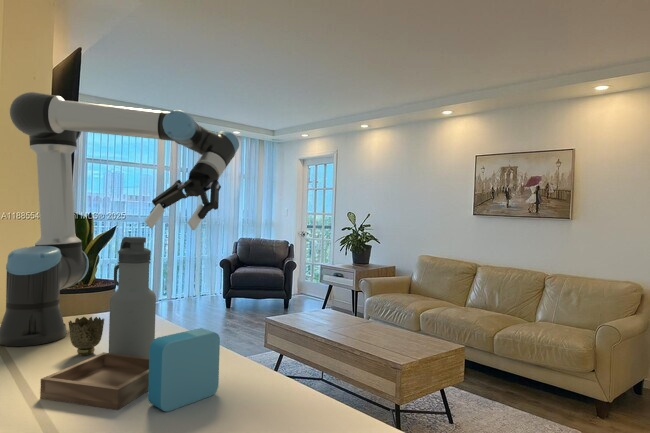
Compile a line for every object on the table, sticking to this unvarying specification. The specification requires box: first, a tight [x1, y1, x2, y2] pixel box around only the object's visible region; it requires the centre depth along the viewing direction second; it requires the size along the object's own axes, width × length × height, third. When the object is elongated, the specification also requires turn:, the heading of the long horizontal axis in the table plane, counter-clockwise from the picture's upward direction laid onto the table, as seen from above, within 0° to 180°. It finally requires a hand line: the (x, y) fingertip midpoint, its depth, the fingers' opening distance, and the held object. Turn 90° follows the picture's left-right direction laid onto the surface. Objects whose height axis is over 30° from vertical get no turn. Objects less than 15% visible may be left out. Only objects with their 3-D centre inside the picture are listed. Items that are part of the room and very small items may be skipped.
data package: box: [147, 327, 221, 413], centre depth 82 cm, size 12×4×12 cm, turn 141°
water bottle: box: [108, 236, 157, 358], centre depth 103 cm, size 10×10×28 cm
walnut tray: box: [39, 352, 149, 411], centre depth 86 cm, size 16×16×4 cm
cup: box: [68, 316, 105, 356], centre depth 105 cm, size 8×7×8 cm
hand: (169, 225), depth 113 cm, fingers open, 13 cm apart
